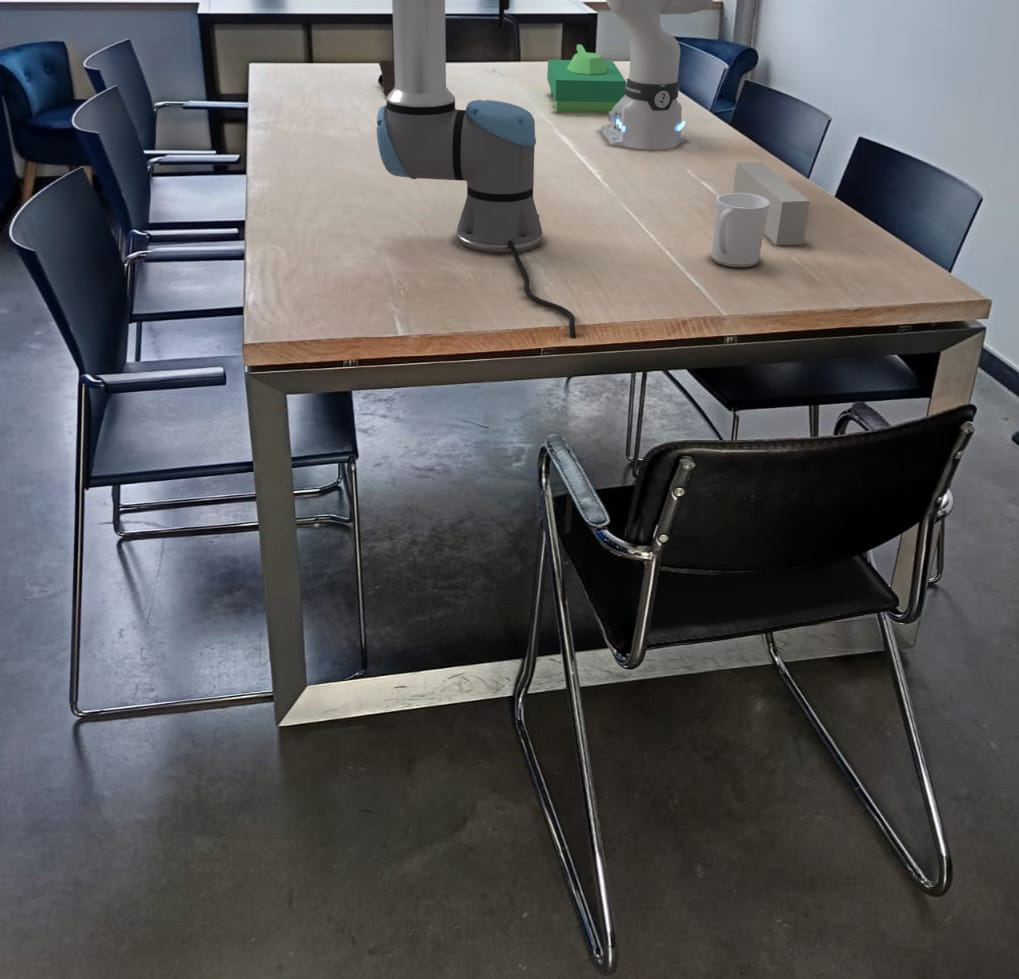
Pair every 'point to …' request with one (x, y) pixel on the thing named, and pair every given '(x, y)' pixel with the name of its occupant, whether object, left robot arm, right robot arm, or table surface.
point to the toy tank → (585, 83)
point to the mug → (739, 229)
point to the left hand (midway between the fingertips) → (468, 26)
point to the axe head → (387, 76)
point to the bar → (775, 202)
